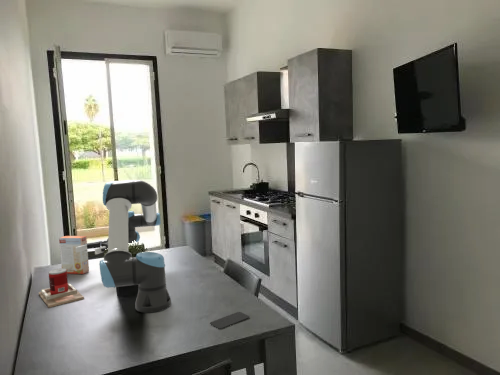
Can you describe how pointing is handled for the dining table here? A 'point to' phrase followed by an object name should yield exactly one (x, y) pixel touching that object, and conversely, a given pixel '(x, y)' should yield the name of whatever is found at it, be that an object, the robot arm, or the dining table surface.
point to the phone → (229, 320)
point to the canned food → (58, 281)
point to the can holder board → (60, 296)
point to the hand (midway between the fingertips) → (85, 250)
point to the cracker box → (73, 254)
